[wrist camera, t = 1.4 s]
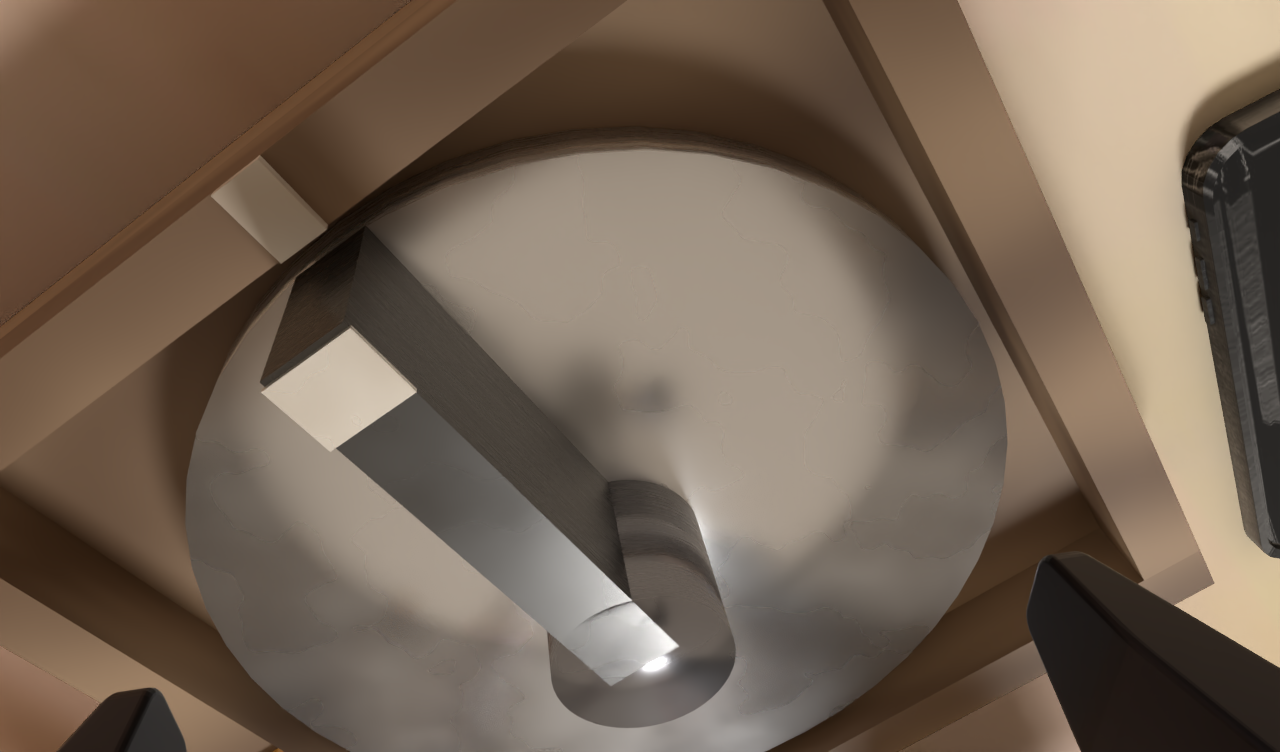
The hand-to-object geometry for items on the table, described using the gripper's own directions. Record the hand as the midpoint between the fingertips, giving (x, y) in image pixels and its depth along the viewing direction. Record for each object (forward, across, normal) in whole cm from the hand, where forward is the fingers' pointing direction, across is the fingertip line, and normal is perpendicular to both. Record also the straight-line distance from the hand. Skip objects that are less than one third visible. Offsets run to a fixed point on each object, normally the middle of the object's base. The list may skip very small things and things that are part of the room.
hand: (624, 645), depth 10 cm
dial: (+10, -1, +7) cm, 13 cm away
